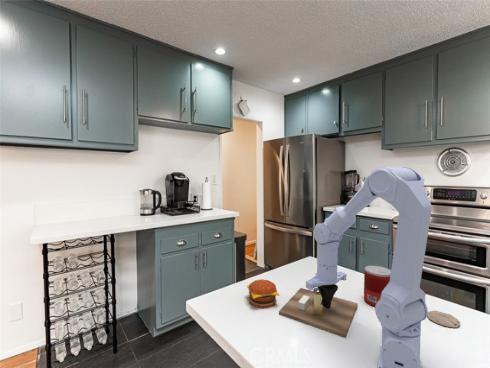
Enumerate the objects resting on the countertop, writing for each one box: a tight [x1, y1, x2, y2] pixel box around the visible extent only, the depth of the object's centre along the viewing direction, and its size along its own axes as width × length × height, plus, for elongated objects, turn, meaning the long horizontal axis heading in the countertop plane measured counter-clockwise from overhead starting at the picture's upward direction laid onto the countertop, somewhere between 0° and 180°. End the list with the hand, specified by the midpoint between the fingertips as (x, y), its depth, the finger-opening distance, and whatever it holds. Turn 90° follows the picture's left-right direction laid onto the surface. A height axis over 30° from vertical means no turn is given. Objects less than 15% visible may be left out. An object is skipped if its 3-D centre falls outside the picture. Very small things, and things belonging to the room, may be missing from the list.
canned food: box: [363, 265, 391, 308], centre depth 81 cm, size 8×8×11 cm
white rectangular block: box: [298, 295, 310, 310], centre depth 77 cm, size 5×2×2 cm, turn 146°
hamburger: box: [246, 279, 280, 309], centre depth 82 cm, size 9×10×7 cm
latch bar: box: [312, 287, 323, 315], centre depth 77 cm, size 10×3×4 cm, turn 165°
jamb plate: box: [278, 287, 359, 338], centre depth 77 cm, size 18×19×1 cm
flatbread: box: [426, 310, 461, 329], centre depth 72 cm, size 8×8×1 cm
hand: (326, 307), depth 75 cm, fingers closed, pressing on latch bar
